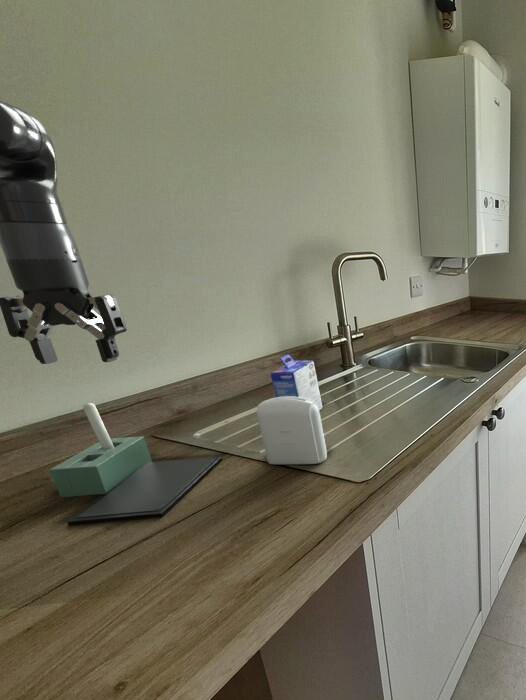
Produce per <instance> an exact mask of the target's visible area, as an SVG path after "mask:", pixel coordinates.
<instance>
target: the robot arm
mask: <svg viewBox="0 0 526 700" xmlns="http://www.w3.org/2000/svg"><path fill="white" fill-rule="evenodd" d="M57 168H58V167H57V156H56V150H55V146H54V143H53V140H52V138H51V136H50V134H49V132H48V131H47V128H45V126H44V125H43V124H42V123H41V122H40V121H39V120H38V119H37V118H36V117H35V116H34V115H33V114H31V113H29V112H28V111H26V110H24V109H22V108H20V107H18V106H16V105H15V106H14V105H13V104H10V103H7V102H5V101H2V100H0V248H1V251H2V253H3V255H4V259H5V261H6V263H7V266H8V269H9V270H10V274H11V276H12V279H13V282H14V285H15V287H16V289H18V290H20V291H22V294H23V297H22V296H21V295H12V296H3V297H0V310H1V313H2V316H3V319H4V323H5V325H6V328H7V331H8V335H9V336H10V337H12V338H22V339H25V341H28V343H29V344H30V347H31V349H32V352H33V355H34V358H35V359H36V360H37V361H38V362H39V363H40V364H42V365H49V364H53V363H57V362H58V357H57V354H56V353H57V352H56V351H55V348H54V346H53V345H54V344H53V342H52V340H51V337H49V335H50V333H51V331H52V329H53V328H55V327H56V326H60V325H66V326H75V325H76V326H78V328H80V329H82V330H86V331H88V333H90V334H91V335H93V336H94V337H95V338H96V339H95V343H96V346H97V349H98V352H99V355H100V359H101V361H102V362H103V363H112V362H114V361H117V360H118V357H119V356H120V352H119V349H118V345H117V342H116V338H115V337H116V336H117V335H119V334H122V333H126V332H127V330H128V327H127V325H126V323H125V319H124V316H123V314H122V312H121V311H122V310H121V309H120V306H119V303H118V301H117V297H116V296H115V295H113V294H104V295H97V296H92V294H91V293H90V292H89V285H90V283H89V280H88V276H87V274H86V270H85V268H84V263H83V261H82V258H81V253H80V251H79V248H78V246H77V245H78V244H77V242H76V239H75V237H74V235H73V233H72V231H71V230H70V227H69V224H68V221H67V218H66V215H65V211H64V208H63V206H62V202H61V201H60V198H59V195H58V169H57ZM93 309H95V310H98V312H99V314H98V312H96V311H94V310H93ZM28 310H29V311H31V312H32V313H31V315H29V312H28ZM48 337H49V338H48Z"/></svg>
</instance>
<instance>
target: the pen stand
mask: <svg viewBox="0 0 526 700" xmlns="http://www.w3.org/2000/svg"><path fill="white" fill-rule="evenodd" d="M110 439H111V441H112V443H113V445H114V448H112V449H102V447H101V444H100V442H99V441H98V442H96V443H94V444H93V445H91V446H89V447H87V448H85V449H84V450H82V451H80V452H78V453H77V454H75V455H73V456H71V457H69V458H68V459H66V460H64V461H62V462H61V463H59V464H57V465H55V466H53V467H52V468H49V472H50V475H51V477H52V480H53V482H54V484H55V487H56V489H57V492H58V494H59V496H60V498H70V497H71V498H72V497H82V496H94V495H95V496H96V495H97V496H98V495H104V494H106V493H107V492H109V491H110V490H111V489H113V488H114V487H115V486H117V485H118V484H120V483H121V482H122V481H124V480H125V479H126V478H128V477H129V476H131V475H132V474H133V473H135V472H136V471H137V470H139V469H140V468H142V467H143V466H144V465H146V464H147V463H149V462H153V460H152V457H151V454H150V451H149V448H148V445H147V442H146V438H145V436H144V435H143V436H130V437H127V436H126V437H113V438H111V437H110Z"/></svg>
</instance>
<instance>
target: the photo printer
mask: <svg viewBox="0 0 526 700" xmlns="http://www.w3.org/2000/svg"><path fill="white" fill-rule="evenodd" d="M320 411H321V410H319V407H318V404H317V403H316V402H315V401H313V400H310V399H307V398H302V397H293V396H285V397H276V396H275V397H271V398H269V399H266V400H263V401H262V402H260V403H258V405H257V408H256V418H257V424H258V427H259V431H260V436H261V440H262V445H263V449H264V452H265V458H266V460H267V463H268V464H270V465H315V464H316V465H317V464H321V463H323V462H325V460H327V458H328V449H327V444H326V440H325V434H324V429H323V423H322V417H321V412H320Z"/></svg>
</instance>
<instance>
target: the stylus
mask: <svg viewBox="0 0 526 700" xmlns="http://www.w3.org/2000/svg"><path fill="white" fill-rule="evenodd" d="M82 408H83V411H84V413H85V416H86V417H87V420H88V421H89V423H90V425H91V427H92V430H93V432H94V434H95V435H96V438H97V440H98V442H100V444H101V447H102V449H112V448H114V445H113V443H112V441H111V437H110V435H109V433H108V431H107V427H106V426H105V424H104V422H103V420H102V417H101V414H100V413H99V411H98V409H97V407H96V404H95V403H92V402H86V403H84V404H83V406H82Z"/></svg>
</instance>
